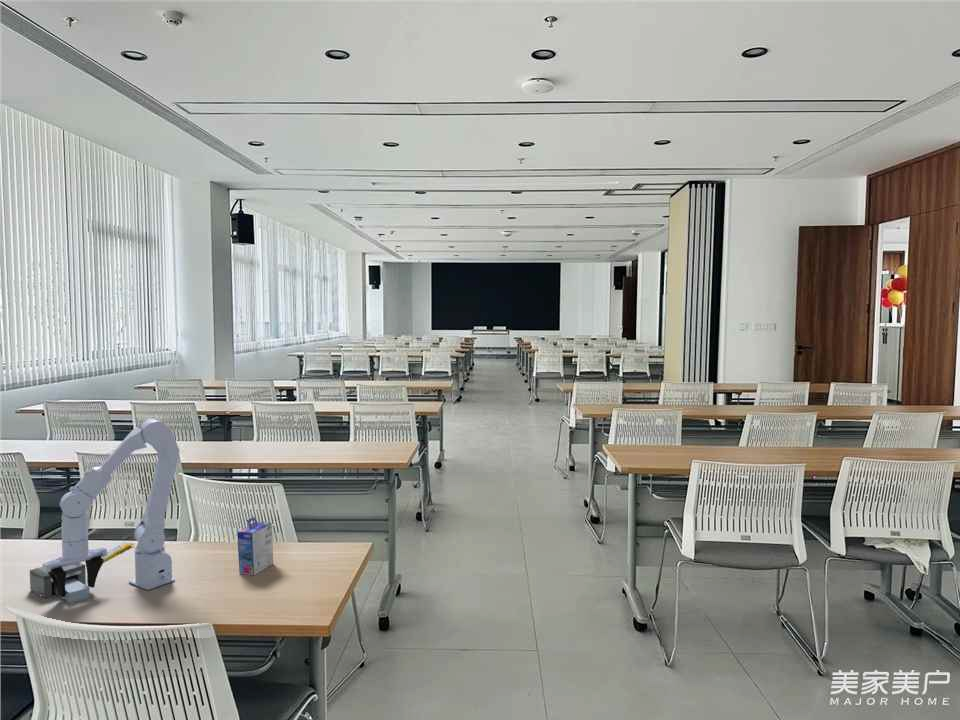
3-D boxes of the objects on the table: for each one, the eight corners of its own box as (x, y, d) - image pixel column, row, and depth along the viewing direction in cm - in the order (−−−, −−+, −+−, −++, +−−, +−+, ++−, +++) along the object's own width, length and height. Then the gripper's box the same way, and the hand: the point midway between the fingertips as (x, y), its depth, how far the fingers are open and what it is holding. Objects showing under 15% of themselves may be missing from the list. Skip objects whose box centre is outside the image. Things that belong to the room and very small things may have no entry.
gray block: (86, 585, 174) (86, 565, 174) (45, 598, 166) (44, 577, 166) (71, 578, 179) (70, 559, 179) (30, 590, 171) (29, 570, 170)
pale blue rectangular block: (89, 598, 167) (89, 587, 166) (70, 604, 163) (69, 593, 163) (66, 584, 176) (66, 573, 176) (47, 589, 172) (47, 578, 172)
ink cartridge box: (257, 561, 192) (256, 513, 191) (274, 563, 191) (273, 514, 190) (237, 574, 182) (236, 523, 182) (254, 576, 181) (253, 524, 180)
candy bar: (99, 566, 189) (99, 560, 189) (86, 566, 190) (86, 560, 189) (135, 547, 206) (134, 541, 206) (122, 547, 206) (122, 541, 206)
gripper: (96, 529, 175) (98, 578, 175) (36, 543, 163) (37, 597, 163) (110, 533, 171) (111, 584, 171) (49, 549, 159) (51, 603, 159)
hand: (76, 591), depth 167 cm, fingers open, 6 cm apart
